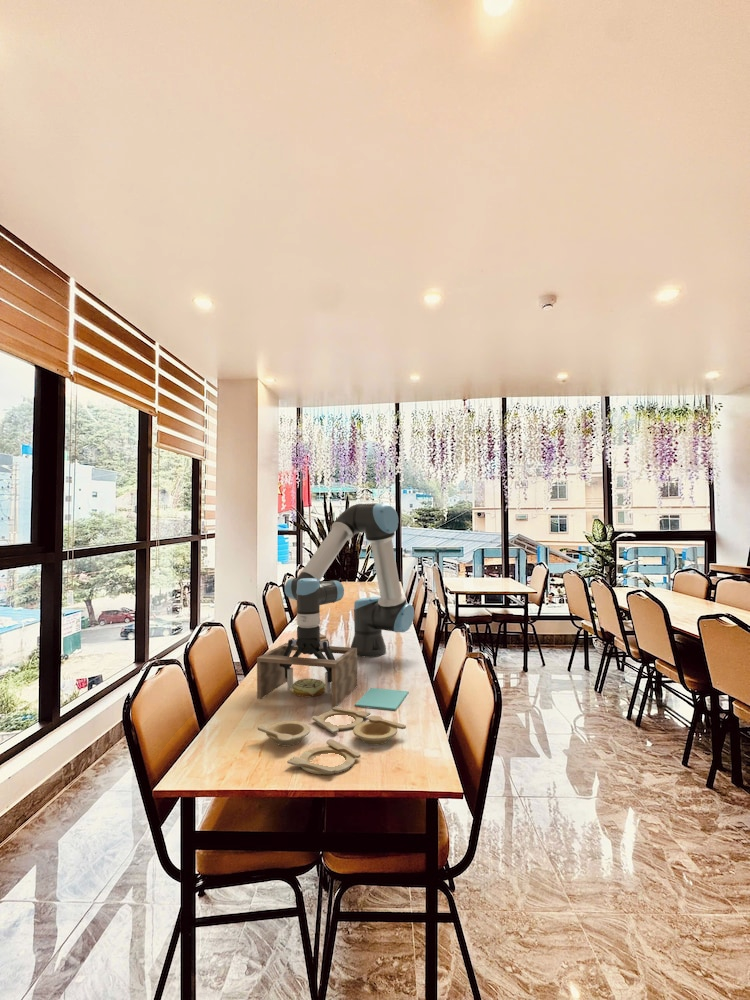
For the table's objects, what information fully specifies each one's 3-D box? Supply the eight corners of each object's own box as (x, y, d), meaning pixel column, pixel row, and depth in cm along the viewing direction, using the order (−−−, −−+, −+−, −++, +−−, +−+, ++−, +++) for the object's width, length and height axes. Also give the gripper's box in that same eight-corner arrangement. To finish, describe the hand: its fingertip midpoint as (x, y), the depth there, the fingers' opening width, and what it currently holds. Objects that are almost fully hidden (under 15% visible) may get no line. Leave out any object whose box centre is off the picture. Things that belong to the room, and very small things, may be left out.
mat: (370, 689, 175) (370, 687, 175) (408, 693, 171) (408, 691, 171) (354, 706, 160) (354, 704, 160) (396, 710, 156) (395, 708, 156)
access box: (285, 679, 186) (285, 643, 187) (357, 686, 178) (356, 647, 179) (257, 698, 167) (257, 657, 168) (335, 706, 159) (335, 663, 160)
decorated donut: (316, 700, 166) (316, 688, 166) (286, 696, 170) (286, 684, 170) (330, 689, 176) (329, 678, 176) (301, 686, 179) (301, 675, 180)
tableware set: (319, 787, 113) (319, 768, 113) (243, 747, 133) (243, 731, 133) (419, 736, 139) (419, 720, 139) (343, 709, 159) (343, 695, 159)
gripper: (269, 625, 174) (269, 690, 173) (339, 629, 166) (339, 697, 166) (279, 621, 181) (280, 683, 180) (347, 625, 173) (348, 689, 173)
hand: (308, 690), depth 173 cm, fingers open, 13 cm apart
